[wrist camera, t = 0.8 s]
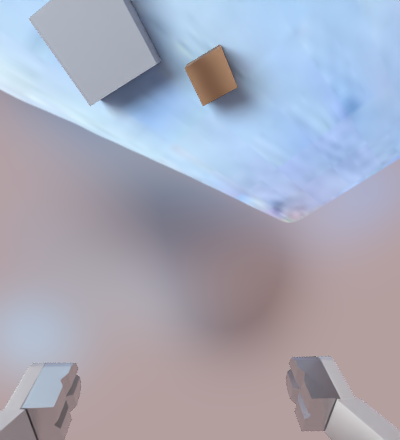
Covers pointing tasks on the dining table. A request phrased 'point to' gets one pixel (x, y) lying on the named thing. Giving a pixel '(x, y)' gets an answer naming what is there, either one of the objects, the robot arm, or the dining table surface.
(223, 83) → the walnut cube
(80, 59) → the plinth
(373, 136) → the dining table surface
